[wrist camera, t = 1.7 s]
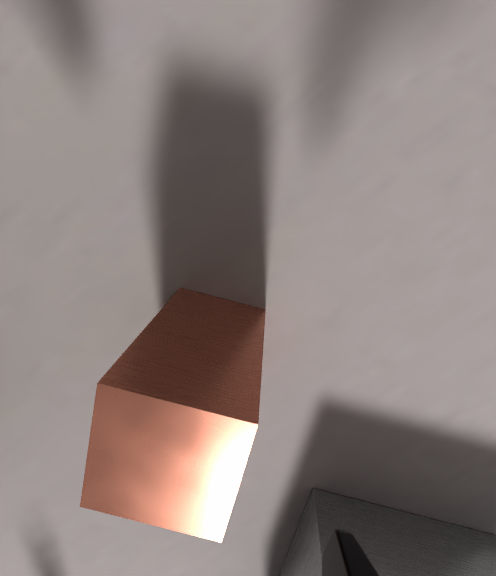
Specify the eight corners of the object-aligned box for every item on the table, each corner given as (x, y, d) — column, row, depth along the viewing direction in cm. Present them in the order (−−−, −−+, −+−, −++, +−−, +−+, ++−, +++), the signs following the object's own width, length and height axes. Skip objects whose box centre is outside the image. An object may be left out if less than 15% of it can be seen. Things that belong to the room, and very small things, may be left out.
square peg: (164, 363, 17) (80, 506, 10) (180, 287, 16) (97, 383, 9) (244, 383, 17) (221, 542, 10) (265, 309, 16) (258, 424, 9)
